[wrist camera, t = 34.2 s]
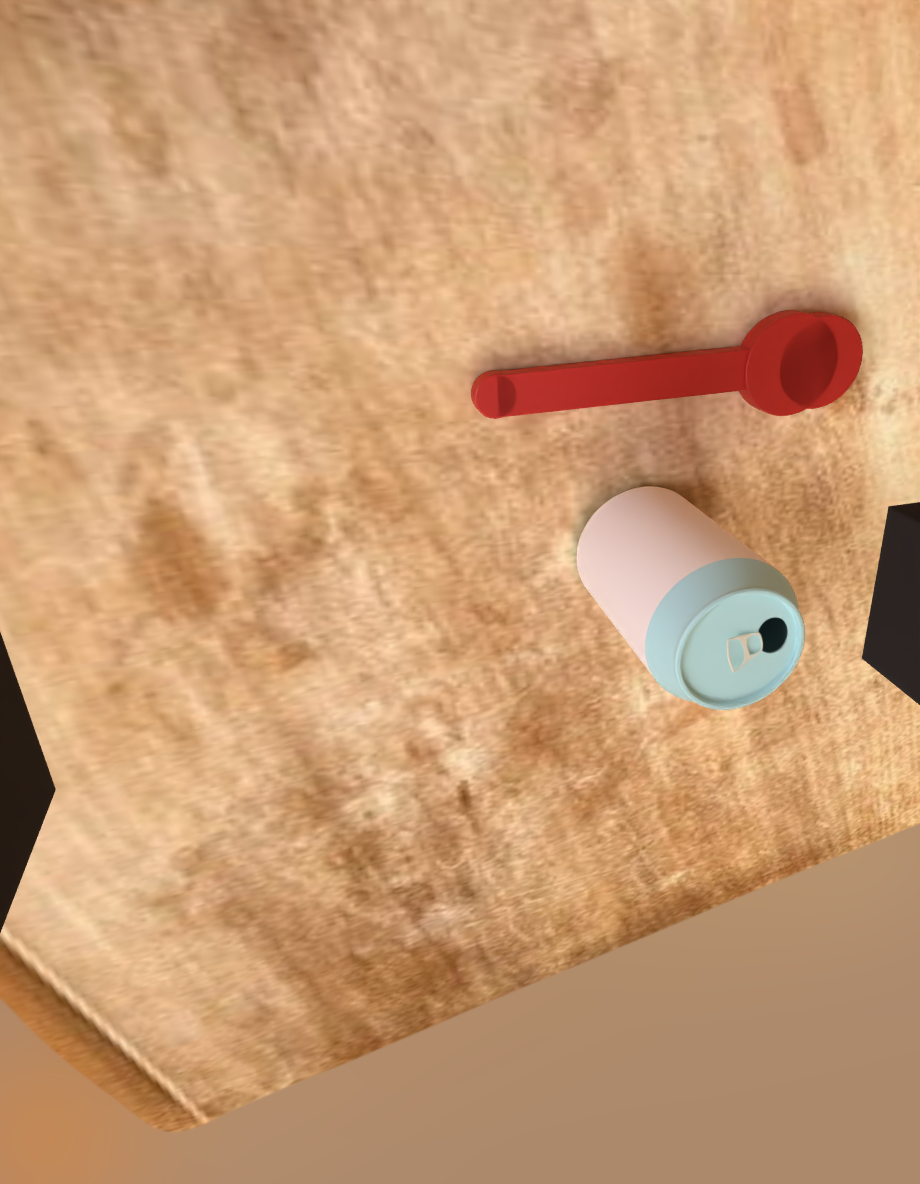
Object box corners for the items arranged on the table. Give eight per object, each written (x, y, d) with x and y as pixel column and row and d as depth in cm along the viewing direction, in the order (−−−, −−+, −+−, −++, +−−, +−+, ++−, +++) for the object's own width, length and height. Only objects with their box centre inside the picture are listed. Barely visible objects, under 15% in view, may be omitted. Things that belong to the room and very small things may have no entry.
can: (627, 457, 43) (739, 545, 32) (720, 523, 46) (853, 624, 35) (546, 565, 45) (628, 682, 34) (641, 623, 47) (743, 747, 37)
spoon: (473, 445, 41) (478, 451, 40) (467, 341, 39) (472, 345, 38) (841, 402, 44) (855, 408, 43) (855, 303, 42) (870, 306, 41)
